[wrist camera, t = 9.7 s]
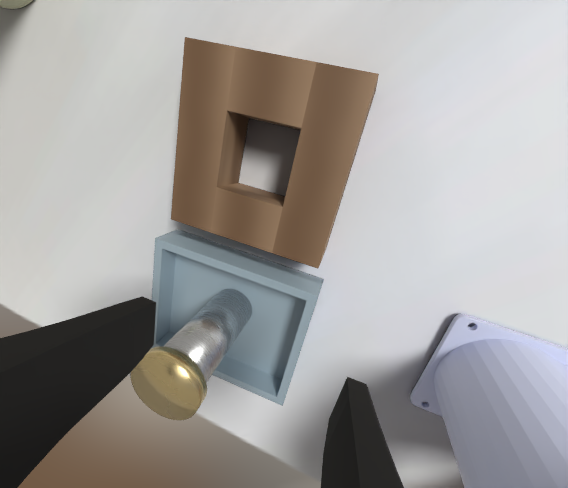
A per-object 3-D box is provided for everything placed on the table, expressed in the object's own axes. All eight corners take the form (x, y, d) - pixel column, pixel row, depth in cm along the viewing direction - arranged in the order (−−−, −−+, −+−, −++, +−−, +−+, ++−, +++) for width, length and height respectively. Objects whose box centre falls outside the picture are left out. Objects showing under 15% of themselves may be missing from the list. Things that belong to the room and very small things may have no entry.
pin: (261, 294, 20) (202, 376, 12) (252, 335, 21) (194, 431, 14) (213, 276, 20) (130, 345, 13) (207, 318, 22) (130, 400, 15)
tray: (323, 279, 19) (318, 295, 17) (290, 380, 23) (282, 405, 20) (177, 229, 21) (155, 238, 19) (169, 329, 25) (149, 346, 22)
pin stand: (376, 89, 15) (378, 73, 12) (324, 251, 18) (318, 268, 16) (214, 57, 17) (184, 37, 14) (197, 210, 20) (170, 219, 17)
